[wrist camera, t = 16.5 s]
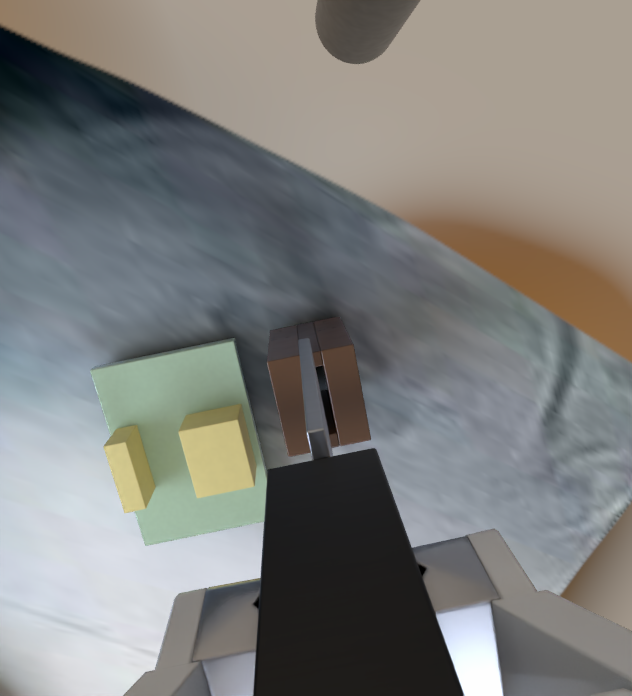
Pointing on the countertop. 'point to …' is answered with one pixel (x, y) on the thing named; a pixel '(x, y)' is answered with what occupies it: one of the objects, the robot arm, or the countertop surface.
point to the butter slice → (130, 468)
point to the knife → (342, 579)
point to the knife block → (340, 378)
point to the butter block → (218, 451)
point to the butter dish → (163, 438)
